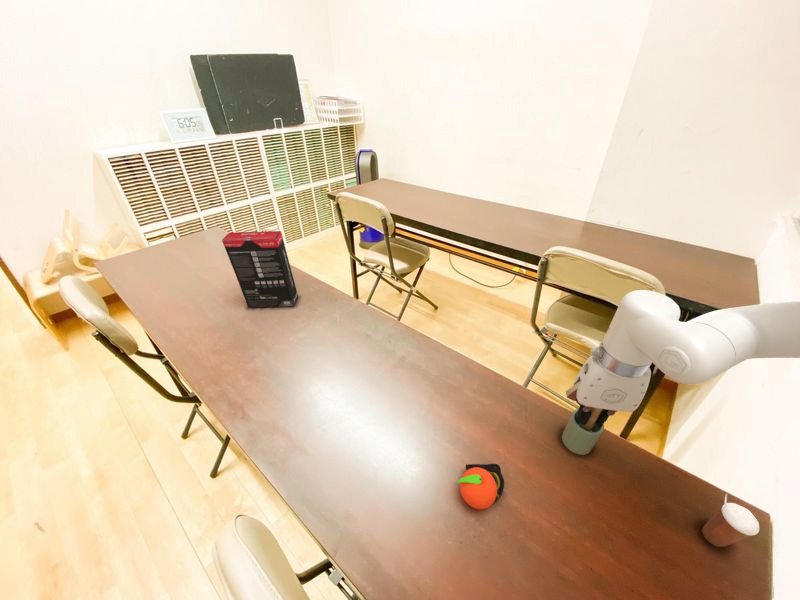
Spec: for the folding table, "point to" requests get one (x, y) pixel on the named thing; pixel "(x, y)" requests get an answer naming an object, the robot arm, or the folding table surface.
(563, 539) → the folding table surface
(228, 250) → the graphics card box
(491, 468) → the tape measure
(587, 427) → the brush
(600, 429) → the cup
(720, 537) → the milkshake
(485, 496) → the clementine
